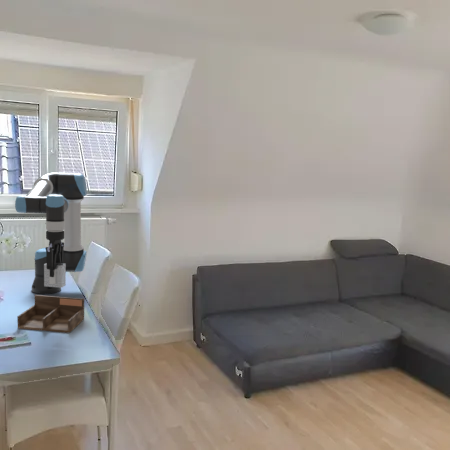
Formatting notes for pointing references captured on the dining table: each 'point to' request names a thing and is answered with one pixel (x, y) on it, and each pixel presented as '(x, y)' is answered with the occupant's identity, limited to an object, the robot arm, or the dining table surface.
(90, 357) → the dining table surface
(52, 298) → the rack
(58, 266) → the block
